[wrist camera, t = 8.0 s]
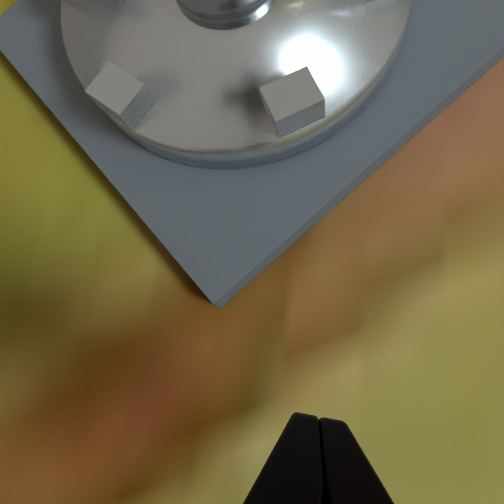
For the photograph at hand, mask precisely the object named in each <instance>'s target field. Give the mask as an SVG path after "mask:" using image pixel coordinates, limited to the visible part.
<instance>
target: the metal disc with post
mask: <svg viewBox="0 0 504 504" xmlns="http://www.w3.org/2000/svg"><path fill="white" fill-rule="evenodd" d="M60 1H61V27H62V35H63V41H64V45H65V48H66V52H67V56H68V59H69V61H70V63H71V65H72V68H73V70H74V72H75V74H76V76H77V78H78V79H79V81H80V82H81V84H82V85H83V87H84V88H85V92H86V93H87V94H88V96H89V97H90V98H91V99H92V100H93V101H94V102H95V103H96V104H97V106H98V107H99V108H100V109H102V110H103V111H104V112H105V113H106V114H107V115H108V116H109V117H110V118H111V119H112V120H113V121H114V123H115V124H116V125H117V126H118V127H119V128H120V129H121V130H122V131H123V132H124V133H125V134H126V135H128V136H129V137H130V138H131V139H133V140H134V141H135V142H136V143H138V144H139V145H141V146H143V147H144V148H146V149H148V150H149V151H151V152H153V153H155V154H157V155H159V156H162V157H164V158H167V159H169V160H172V161H174V162H178V163H182V164H186V165H190V166H193V167H201V168H209V169H243V168H251V167H259V166H263V165H267V164H271V163H275V162H279V161H283V160H286V159H288V158H291V157H293V156H296V155H299V154H301V153H304V152H306V151H308V150H310V149H312V148H313V147H315V146H317V145H319V144H321V143H323V142H325V141H326V140H328V139H329V138H331V137H332V136H334V135H335V134H336V133H338V132H339V131H341V130H342V129H344V128H345V127H346V126H347V125H348V124H349V123H350V122H352V121H353V120H354V119H355V118H356V117H357V116H358V115H359V114H360V113H362V112H363V110H364V109H365V108H366V107H367V106H368V105H369V103H370V102H371V101H372V100H373V99H374V98H375V96H376V95H377V94H378V92H379V91H380V89H381V88H382V86H383V85H384V83H385V81H386V80H387V78H388V77H389V75H390V73H391V71H392V68H393V66H394V64H395V62H396V60H397V58H398V55H399V52H400V48H401V45H402V42H403V39H404V35H405V31H406V26H407V22H408V18H409V14H410V9H411V5H412V1H413V0H60Z"/></svg>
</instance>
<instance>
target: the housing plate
mask: <svg viewBox="0 0 504 504" xmlns="http://www.w3.org/2000/svg"><path fill="white" fill-rule="evenodd" d="M0 51H1V52H2V53H3V54H4V55H5V57H6V58H7V59H8V60H9V61H10V63H11V64H12V65H13V66H14V67H15V69H16V70H17V71H18V72H19V73H20V75H21V76H22V77H23V78H24V79H25V81H26V82H27V83H28V84H29V85H30V87H31V88H32V89H33V90H34V91H35V92H36V94H37V95H38V96H39V97H40V98H41V100H42V101H43V102H44V103H45V104H46V106H47V107H48V108H49V109H50V110H51V112H52V113H53V114H54V115H55V116H56V118H57V119H58V120H59V121H60V122H61V123H62V125H63V126H64V127H65V128H66V129H67V131H68V132H69V133H70V134H71V135H72V137H73V138H74V139H75V140H76V141H77V143H78V144H79V145H80V146H81V147H82V149H83V150H84V151H85V152H86V153H87V155H88V156H89V157H90V158H91V159H92V160H93V162H94V163H95V164H96V165H97V166H98V168H99V169H100V170H101V171H102V172H103V174H104V175H105V176H106V177H107V178H108V180H109V181H110V182H111V183H112V184H113V186H114V187H115V188H116V189H117V190H118V191H119V193H120V194H121V195H122V196H123V197H124V199H125V200H126V201H127V202H128V203H129V205H130V206H131V207H132V208H133V209H134V211H135V212H136V213H137V214H138V215H139V217H140V218H141V219H142V220H143V221H144V223H145V224H146V225H147V226H148V227H149V228H150V230H151V231H152V232H153V233H154V234H155V236H156V237H157V238H158V239H159V240H160V242H161V243H162V244H163V245H164V246H165V248H166V249H167V250H168V251H169V252H170V254H171V255H172V256H173V257H174V258H175V259H176V261H177V262H178V263H179V264H180V265H181V267H182V268H183V269H184V270H185V271H186V273H187V274H188V275H189V276H190V277H191V279H192V280H193V281H194V282H195V283H196V285H197V286H198V287H199V288H200V289H201V291H202V292H203V293H204V294H205V295H206V296H207V298H208V299H209V300H210V301H211V302H212V304H213V305H215V306H217V307H219V308H221V307H222V306H224V305H225V304H226V303H227V302H228V301H229V300H230V299H231V298H233V297H234V296H235V295H236V294H237V293H238V292H239V291H240V290H242V289H243V288H244V287H245V286H246V285H247V284H248V283H249V282H251V281H252V280H253V279H254V278H255V277H256V276H257V275H258V274H260V273H261V272H262V271H263V270H264V269H265V268H266V267H267V266H269V265H270V264H271V263H272V262H273V261H274V260H275V259H276V258H278V257H279V256H280V255H281V254H282V253H283V252H284V251H285V250H287V249H288V248H289V247H290V246H291V245H292V244H293V243H294V242H296V241H297V240H298V239H299V238H300V237H301V236H302V235H303V234H305V233H306V232H307V231H308V230H309V229H310V228H311V227H312V226H314V225H315V224H316V223H317V222H318V221H319V220H320V219H321V218H323V217H324V216H325V215H326V214H327V213H328V212H329V211H330V210H332V209H333V208H334V207H335V206H336V205H337V204H338V203H339V202H341V201H342V200H343V199H344V198H345V197H346V196H347V195H348V194H350V193H351V192H352V191H353V190H354V189H355V188H356V187H357V186H359V185H360V184H361V183H362V182H363V181H364V180H365V179H366V178H368V177H369V176H370V175H371V174H372V173H373V172H374V171H375V170H377V169H378V168H379V167H380V166H381V165H382V164H383V163H384V162H386V161H387V160H388V159H389V158H390V157H391V156H392V155H393V154H395V153H396V152H397V151H398V150H399V149H400V148H401V147H402V146H404V145H405V144H406V143H407V142H408V141H409V140H410V139H411V138H413V137H414V136H415V135H416V134H417V133H418V132H419V131H420V130H422V129H423V128H424V127H425V126H426V125H427V124H428V123H429V122H431V121H432V120H433V119H434V118H435V117H436V116H437V115H438V114H440V113H441V112H442V111H443V110H444V109H445V108H446V107H447V106H449V105H450V104H451V103H452V102H453V101H454V100H455V99H456V98H458V97H459V96H460V95H461V94H462V93H463V92H464V91H465V90H467V89H468V88H469V87H470V86H471V85H472V84H473V83H474V82H476V81H477V80H478V79H479V78H480V77H481V76H482V75H483V74H485V73H486V72H487V71H488V70H489V69H490V68H491V67H492V66H494V65H495V64H496V63H497V62H498V61H499V60H500V59H501V58H503V57H504V0H413V1H412V5H411V9H410V14H409V18H408V22H407V26H406V31H405V35H404V39H403V42H402V45H401V48H400V52H399V55H398V58H397V60H396V62H395V64H394V66H393V68H392V71H391V73H390V75H389V77H388V78H387V80H386V81H385V83H384V85H383V86H382V88H381V89H380V91H379V92H378V94H377V95H376V96H375V98H374V99H373V100H372V101H371V102H370V103H369V105H368V106H367V107H366V108H365V109H364V110H363V112H362V113H360V114H359V115H358V116H357V117H356V118H355V119H354V120H353V121H352V122H350V123H349V124H348V125H347V126H346V127H345V128H344V129H342V130H341V131H339V132H338V133H336V134H335V135H334V136H332V137H331V138H329V139H328V140H326V141H325V142H323V143H321V144H319V145H317V146H315V147H313V148H312V149H310V150H308V151H306V152H304V153H301V154H299V155H296V156H293V157H291V158H288V159H286V160H283V161H279V162H275V163H271V164H267V165H263V166H259V167H251V168H243V169H209V168H201V167H193V166H190V165H186V164H182V163H178V162H174V161H172V160H169V159H167V158H164V157H162V156H159V155H157V154H155V153H153V152H151V151H149V150H148V149H146V148H144V147H143V146H141V145H139V144H138V143H136V142H135V141H134V140H133V139H131V138H130V137H129V136H128V135H126V134H125V133H124V132H123V131H122V130H121V129H120V128H119V127H118V126H117V125H116V124H115V123H114V121H113V120H112V119H111V118H110V117H109V116H108V115H107V114H106V113H105V112H104V111H103V110H102V109H100V108H99V107H98V106H97V104H96V103H95V102H94V101H93V100H92V99H91V98H90V97H89V96H88V94H87V93H86V92H85V88H84V87H83V85H82V84H81V82H80V81H79V79H78V78H77V76H76V74H75V72H74V70H73V68H72V65H71V63H70V61H69V59H68V56H67V52H66V48H65V45H64V41H63V35H62V27H61V1H60V0H19V1H17V2H16V3H15V4H14V5H13V6H11V7H10V8H9V9H8V10H7V11H6V12H4V13H3V14H2V15H1V16H0Z"/></svg>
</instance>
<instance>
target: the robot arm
mask: <svg viewBox="0 0 504 504" xmlns="http://www.w3.org/2000/svg"><path fill="white" fill-rule="evenodd" d="M243 504H394V503H393V501H392V499H391V498H390V496H389V494H388V492H387V491H386V489H385V487H384V486H383V484H382V482H381V481H380V479H379V477H378V476H377V474H376V472H375V471H374V469H373V467H372V466H371V464H370V462H369V461H368V459H367V457H366V456H365V454H364V452H363V451H362V449H361V447H360V446H359V444H358V442H357V441H356V439H355V437H354V436H353V434H352V432H351V431H350V429H349V427H348V426H347V424H346V423H345V422H343V421H340V420H335V419H330V418H324V417H323V418H320V419H319V420H318V418H317V417H316V416H314V415H308V414H303V413H298V412H296V413H294V414H292V416H291V418H290V419H289V421H288V423H287V425H286V427H285V429H284V430H283V432H282V434H281V436H280V438H279V439H278V441H277V443H276V445H275V447H274V448H273V450H272V452H271V454H270V456H269V458H268V459H267V461H266V463H265V465H264V467H263V468H262V470H261V472H260V474H259V476H258V478H257V479H256V481H255V483H254V485H253V487H252V488H251V490H250V492H249V494H248V496H247V498H246V499H245V501H244V503H243Z"/></svg>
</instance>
